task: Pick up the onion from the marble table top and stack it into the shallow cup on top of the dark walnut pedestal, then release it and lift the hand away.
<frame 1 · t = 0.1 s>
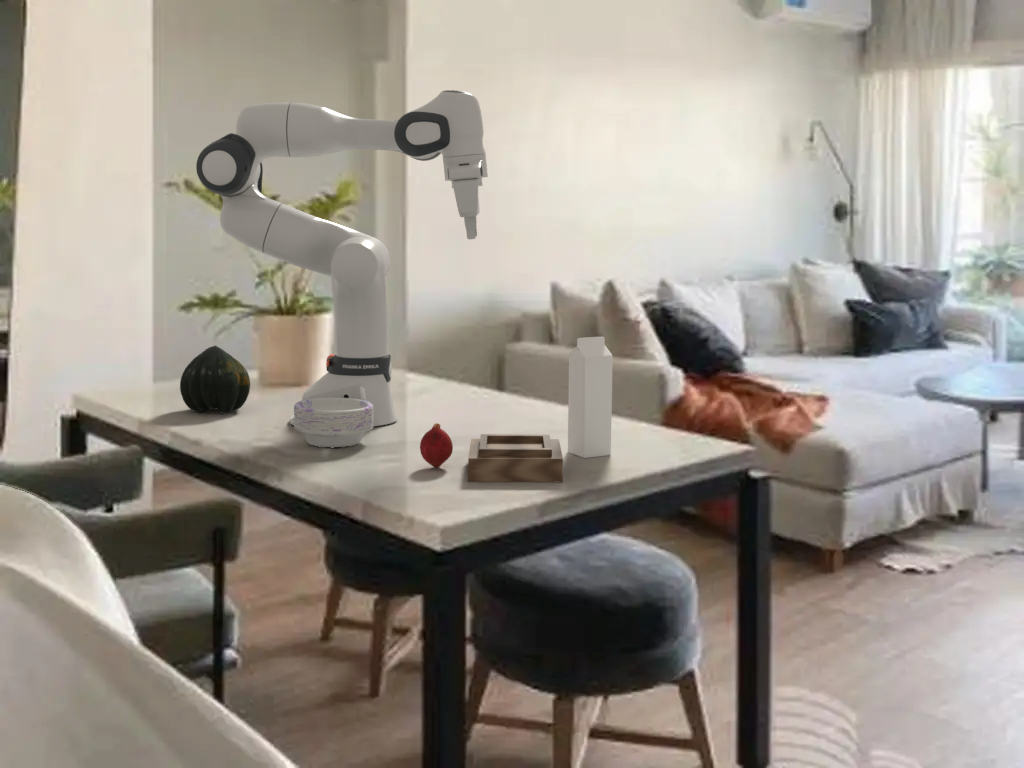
hand: (472, 238, 246), 39 cm above the table, tool pointing down, fingers open, 8 cm apart
onion: (436, 468, 211), on the table
walnut pedestal: (515, 470, 209), on the table
milk: (589, 454, 223), on the table
squash: (215, 411, 263), on the table
paper bowls: (334, 444, 231), on the table
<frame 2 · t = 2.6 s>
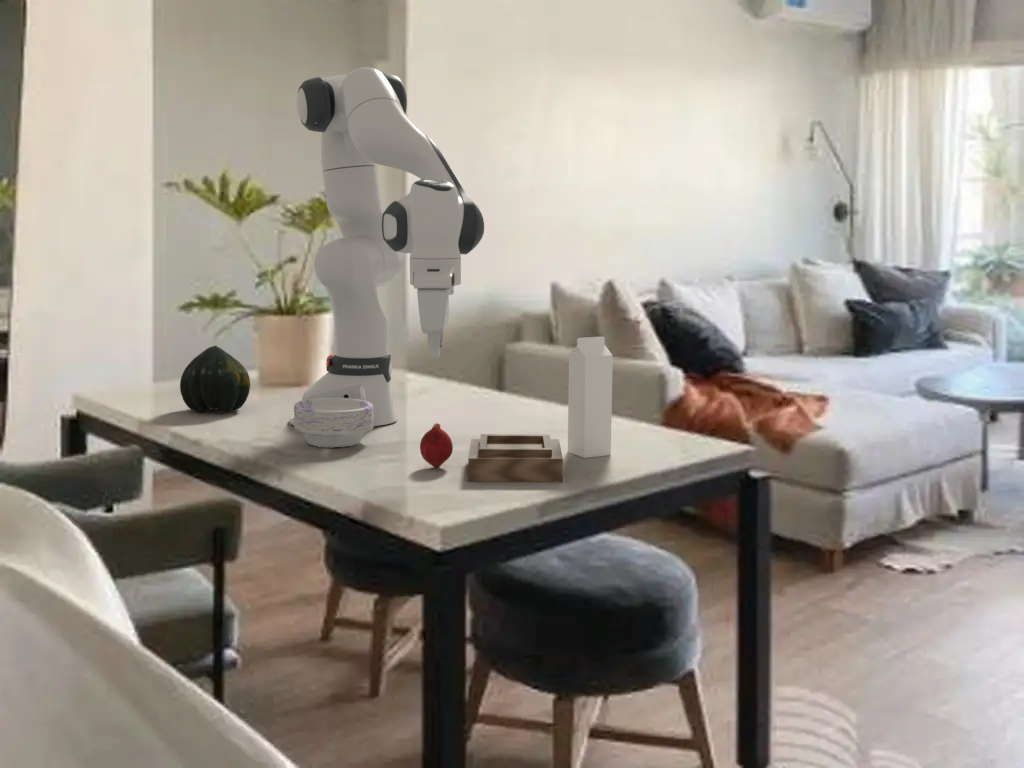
hand: (436, 353, 208), 20 cm above the table, tool pointing down, fingers open, 8 cm apart
nothing on the table moved.
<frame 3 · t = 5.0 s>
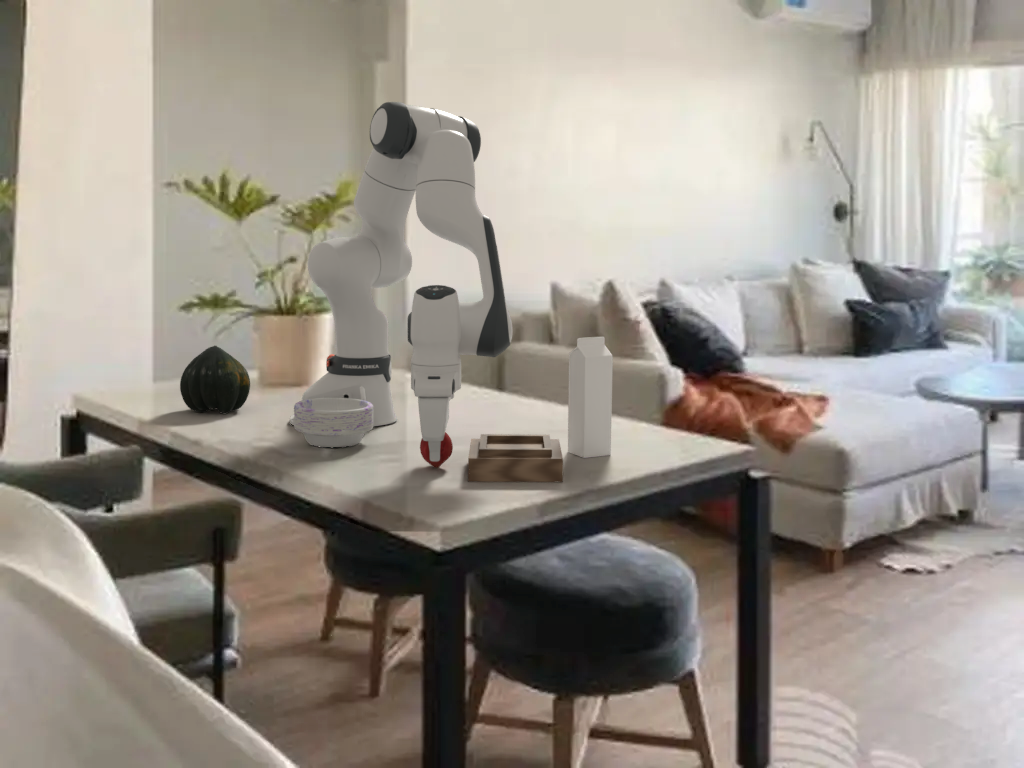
hand: (436, 455, 211), 2 cm above the table, tool pointing down, fingers closed on onion, 6 cm apart
onion: (436, 468, 211), on the table, touching gripper
everything else where it was.
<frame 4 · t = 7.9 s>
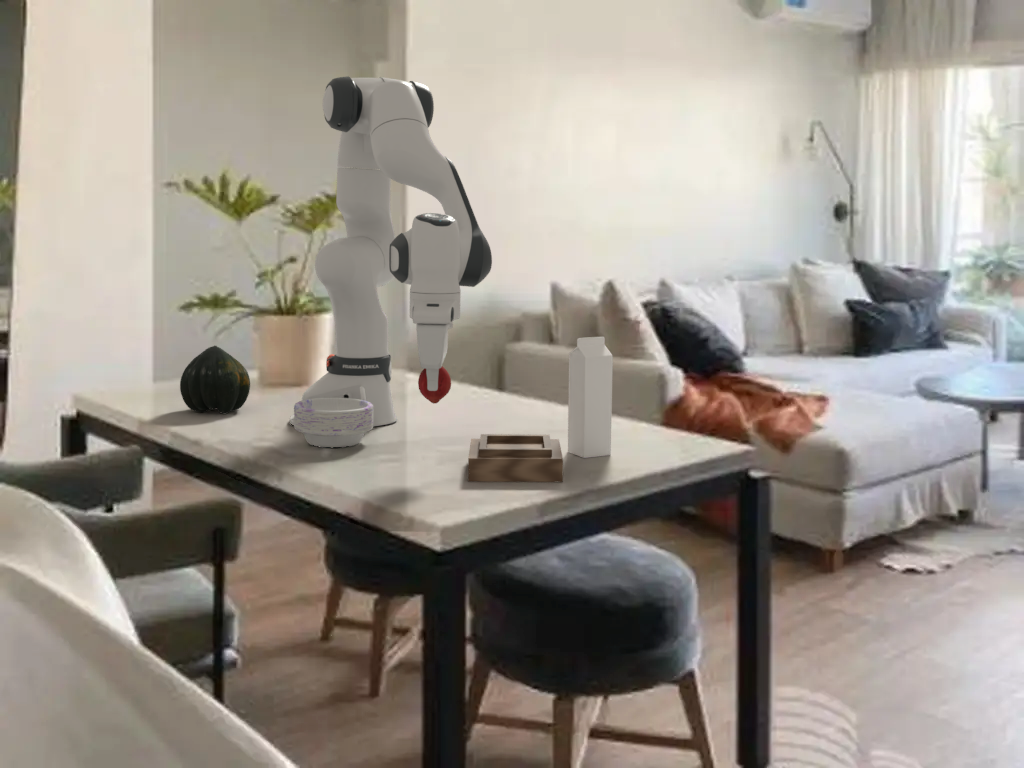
hand: (434, 386, 209), 15 cm above the table, tool pointing down, fingers closed on onion, 6 cm apart
onion: (434, 404, 210), point 11 cm above the table, touching gripper
everything else where it was.
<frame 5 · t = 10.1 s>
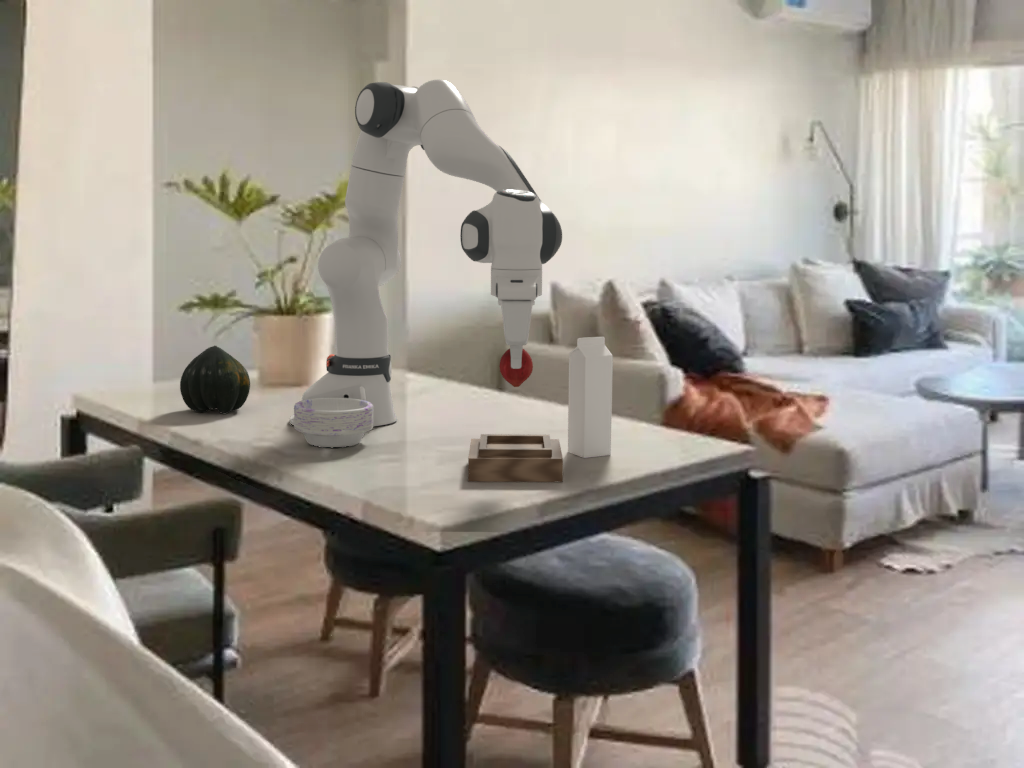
hand: (515, 364, 206), 19 cm above the table, tool pointing down, fingers closed on onion, 6 cm apart
onion: (516, 388, 207), point 15 cm above the table, touching gripper
everything else where it was.
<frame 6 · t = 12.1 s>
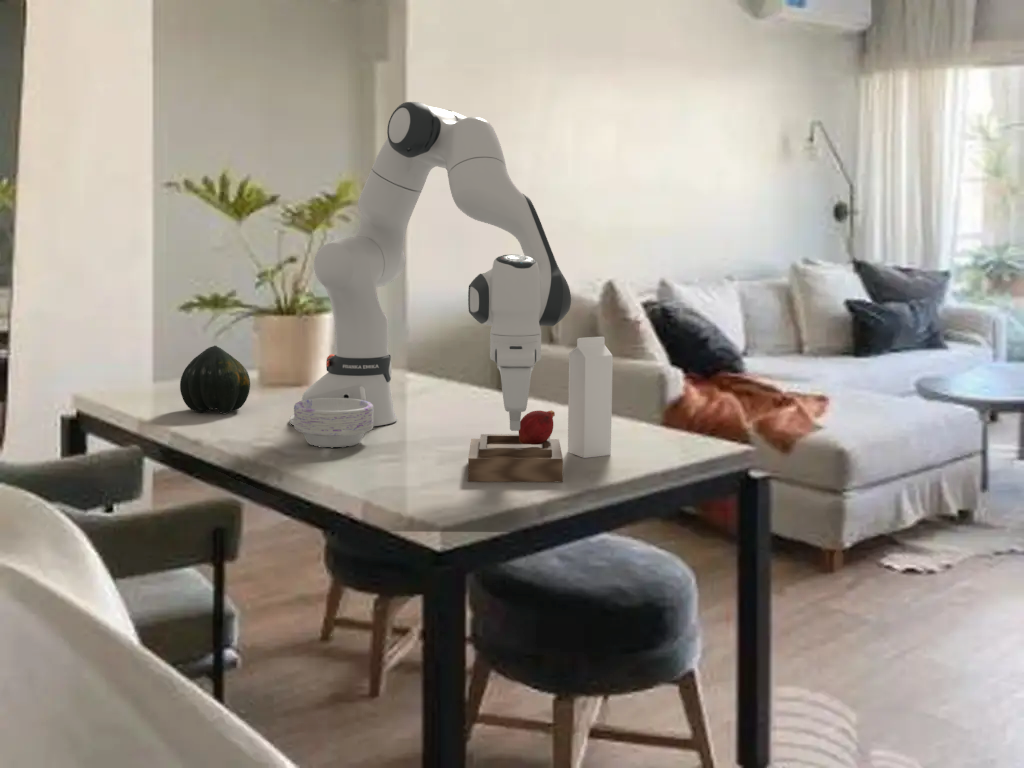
hand: (514, 427, 208), 8 cm above the table, tool pointing down
onion: (519, 443, 209), point 5 cm above the table, touching gripper, walnut pedestal
everything else where it was.
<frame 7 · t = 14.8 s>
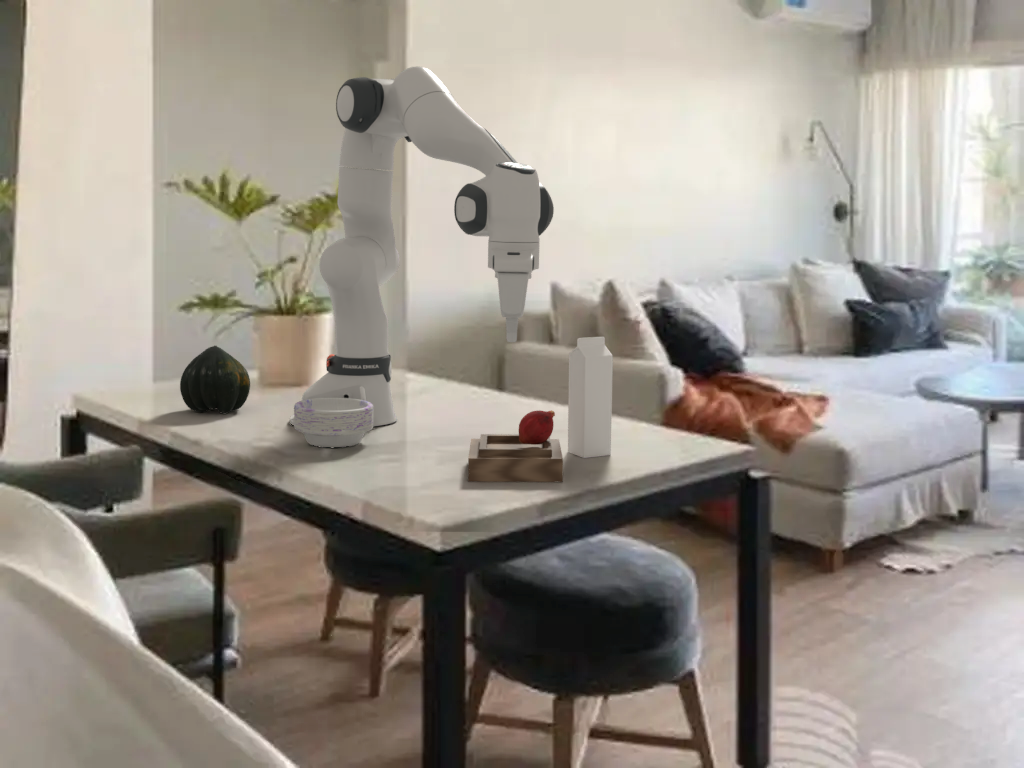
hand: (511, 338, 207), 23 cm above the table, tool pointing down, fingers open, 8 cm apart
onion: (519, 442, 209), point 5 cm above the table, touching walnut pedestal
everything else where it was.
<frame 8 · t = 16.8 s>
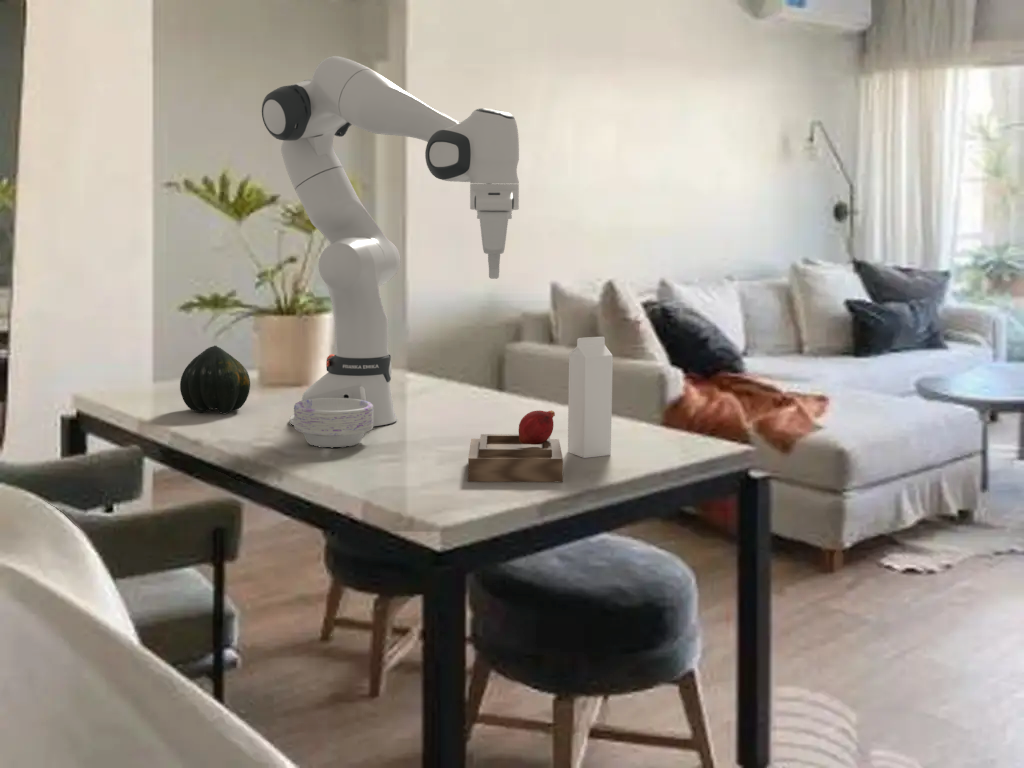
hand: (494, 276, 218), 33 cm above the table, tool pointing down, fingers open, 8 cm apart
nothing on the table moved.
at the end: onion 0.9 cm off-centre on the walnut pedestal, point 4.9 cm above the walnut pedestal's base; onion touching walnut pedestal; the gripper is holding nothing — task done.
